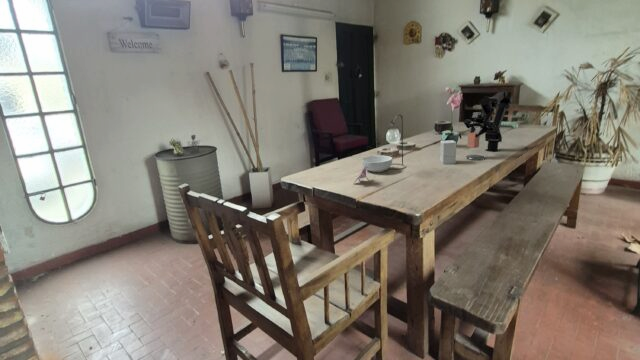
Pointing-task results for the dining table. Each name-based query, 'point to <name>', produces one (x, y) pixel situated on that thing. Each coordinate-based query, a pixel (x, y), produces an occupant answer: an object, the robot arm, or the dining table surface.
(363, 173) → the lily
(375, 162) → the cereal bowl
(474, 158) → the charcoal dinner plate
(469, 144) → the upright salmon prism
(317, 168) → the dining table surface
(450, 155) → the supplement box
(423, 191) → the dining table surface
